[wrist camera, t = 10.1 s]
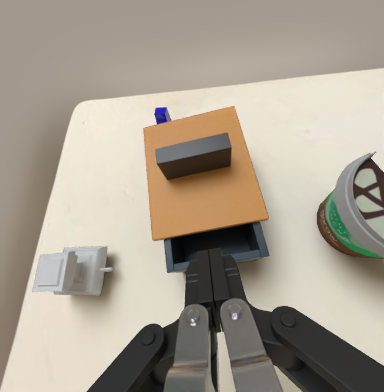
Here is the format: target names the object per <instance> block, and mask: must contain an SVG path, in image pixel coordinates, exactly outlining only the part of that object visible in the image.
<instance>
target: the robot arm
mask: <svg viewBox="0 0 384 392" xmlns="http://www.w3.org/2000/svg"><path fill="white" fill-rule="evenodd" d="M220 324H221V327H220ZM221 328H222V332H224V334H225V339H226V344H227V349H228V353H229V358H230V363H231V369H232V374H233V379H234V384H235V389H236V392H283V390H282V387H281V385H280V382H279V379H278V377H277V374H276V371H275V369H274V366H273V365H275V366H277V367H278V368H279V369H280V370H281V372H283V373H284V374H285V375H286V376H287V377H288V378H289V379H290V380H291V381H292V382H293V383H294V384H295V385H296V386H297V387H299V388H300V389H301V390H302V391H303V392H384V366H383V365H381V364H380V363H378V362H377V361H375V360H374V359H372V358H370V357H369V356H367V355H366V354H364V353H363V352H361V351H360V350H358V349H356V348H355V347H353V346H352V345H350V344H349V343H347V342H346V341H344V340H342V339H341V338H339V337H338V336H336V335H335V334H333V333H332V332H330V331H328V330H327V329H325V328H324V327H322V326H321V325H319V324H318V323H316V322H314V321H313V320H311V319H310V318H308V317H307V316H305V315H304V314H302V313H300V312H299V311H297V310H296V309H294V308H291V307H288V306H280V307H277V308H275V309H274V310H273V311H272V312H269V311H263V310H259V309H257V308H255V307H253V306H252V305H251V304H250V303H249V302H248V301H247V299H246V296H245V292H244V289H243V285H242V281H241V278H240V274H239V271H238V267H237V263H236V260H235V259H234V258H233V257H232V256H231V255H227V256H222V253H221V248H217V249H211V250H209V251H208V250H205V251H200V252H197V261H192V262H190V263H189V265H188V267H187V268H186V289H185V308H184V310H183V311H182V313H181V315H180V318H179V319H178V320H176V321H175V322H173V323H172V324H170V325H168V326H166V327H164V328H162V327H161V326H160V325H158V324H149V325H147V326H145V327H144V328H142V329H141V330H140V331H139V333H138V334H137V335H136V336H135V337H134V338H133V339H132V341H131V342H130V343H129V344H128V345H127V346H126V347H125V349H124V350H123V351H122V352H121V353H120V354H119V355H118V357H117V358H116V359H115V360H114V361H113V362H112V363H111V365H110V366H109V367H108V368H107V369H106V370H105V371H104V373H103V374H102V375H101V376H100V377H99V378H98V379H97V381H96V382H95V383H94V384H93V385H92V386H91V387H90V388H89V390H88V391H87V392H220V386H219V358H218V342H217V333H218V332H221Z"/></svg>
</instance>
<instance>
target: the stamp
mask: <svg viewBox="0 0 384 392" xmlns="http://www.w3.org/2000/svg"><path fill="white" fill-rule="evenodd" d="M106 259H107V246H106V247H65V248H63V253H55V254H44V255H40V256H39V260H38V265H37V270H36V275H35V280H34V285H33V290H32V292H44V291H54V294H59V295H99V296H100V294H101V289H102V286H103V279H104V273H105V272H112V271H113V268H111V267H109V268H105V266H106Z"/></svg>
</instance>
